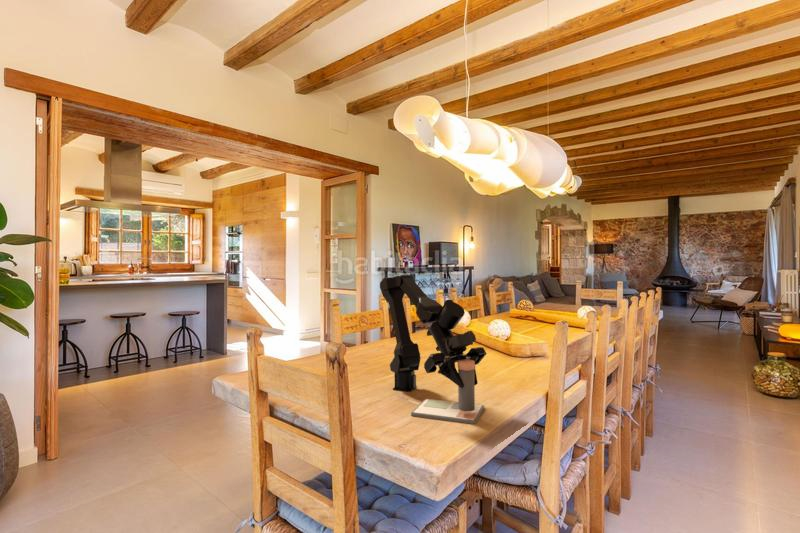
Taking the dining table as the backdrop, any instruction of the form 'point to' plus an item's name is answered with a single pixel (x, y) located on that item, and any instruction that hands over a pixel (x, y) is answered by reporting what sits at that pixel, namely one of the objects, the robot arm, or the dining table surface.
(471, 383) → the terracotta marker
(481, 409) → the picture board
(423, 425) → the dining table surface
